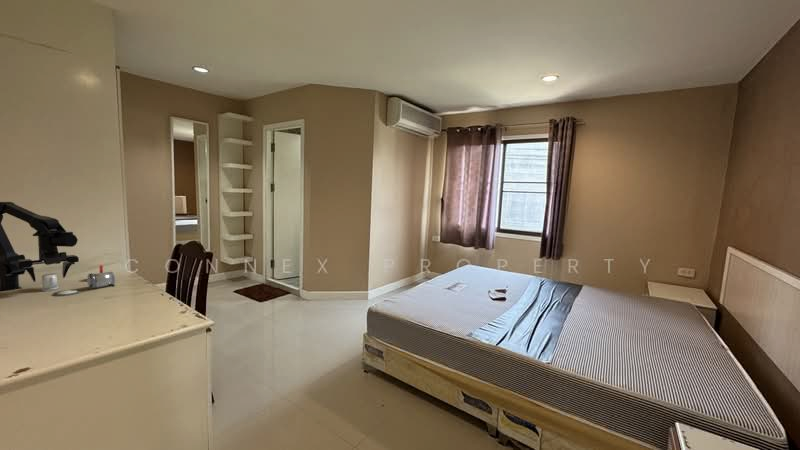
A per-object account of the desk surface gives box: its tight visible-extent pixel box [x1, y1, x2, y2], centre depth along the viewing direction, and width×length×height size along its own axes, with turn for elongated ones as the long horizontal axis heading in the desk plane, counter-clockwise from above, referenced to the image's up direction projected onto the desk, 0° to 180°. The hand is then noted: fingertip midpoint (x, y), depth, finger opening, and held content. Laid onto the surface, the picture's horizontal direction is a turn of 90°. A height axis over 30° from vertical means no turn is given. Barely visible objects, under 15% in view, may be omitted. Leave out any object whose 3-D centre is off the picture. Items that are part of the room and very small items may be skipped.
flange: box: [52, 288, 83, 297], centre depth 143 cm, size 9×9×1 cm
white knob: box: [41, 273, 60, 292], centre depth 146 cm, size 6×5×7 cm
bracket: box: [99, 264, 104, 273], centre depth 161 cm, size 12×4×8 cm, turn 44°
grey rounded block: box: [87, 271, 116, 290], centre depth 152 cm, size 8×8×7 cm
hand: (49, 279), depth 146 cm, fingers open, 9 cm apart
